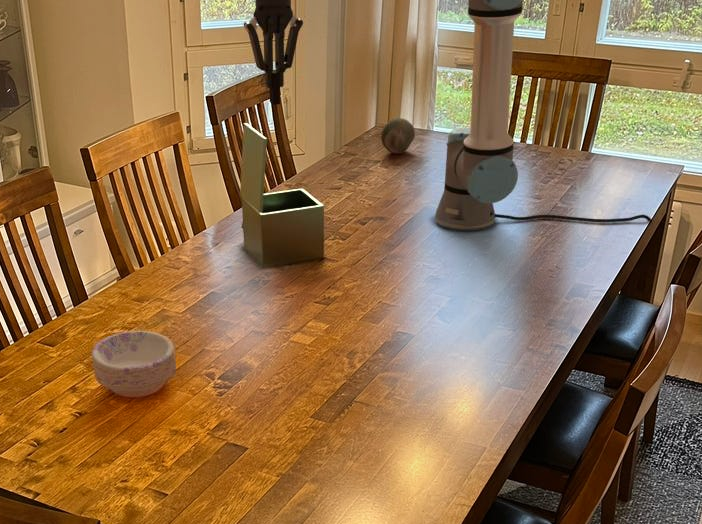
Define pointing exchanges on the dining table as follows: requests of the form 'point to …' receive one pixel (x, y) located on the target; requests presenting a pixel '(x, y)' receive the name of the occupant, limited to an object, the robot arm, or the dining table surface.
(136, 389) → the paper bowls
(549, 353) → the dining table surface
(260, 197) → the bin lid
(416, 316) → the dining table surface
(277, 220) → the trash can
